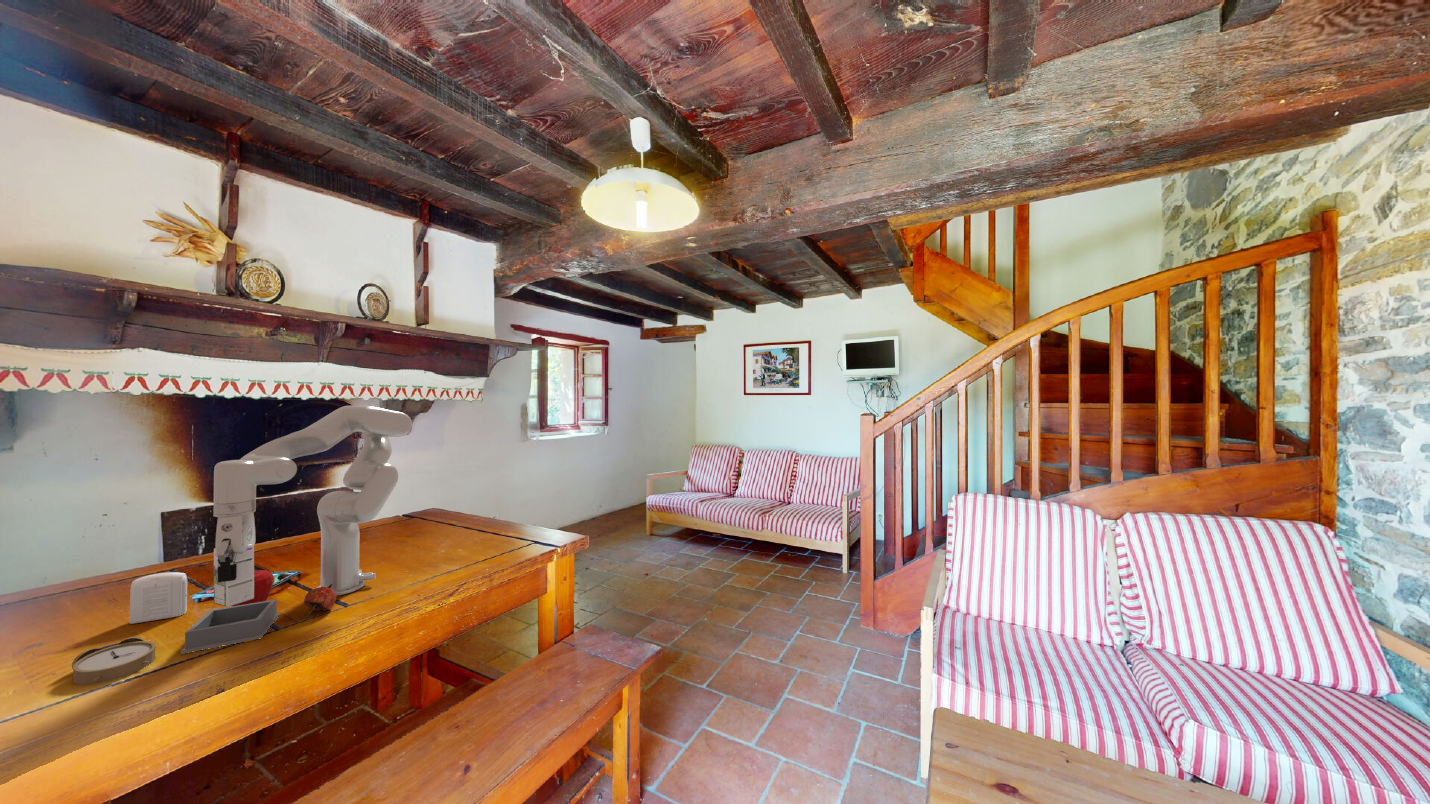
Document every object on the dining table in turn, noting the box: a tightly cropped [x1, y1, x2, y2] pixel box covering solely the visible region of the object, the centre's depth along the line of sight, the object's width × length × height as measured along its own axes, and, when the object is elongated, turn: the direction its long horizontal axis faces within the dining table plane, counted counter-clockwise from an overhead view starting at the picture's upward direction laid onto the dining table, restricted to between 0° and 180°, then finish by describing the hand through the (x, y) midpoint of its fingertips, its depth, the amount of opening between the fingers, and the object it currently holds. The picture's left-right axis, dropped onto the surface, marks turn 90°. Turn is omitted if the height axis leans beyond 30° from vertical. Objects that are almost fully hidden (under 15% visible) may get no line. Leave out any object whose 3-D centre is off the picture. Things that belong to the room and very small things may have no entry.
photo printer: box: [129, 571, 188, 625], centre depth 124 cm, size 10×4×12 cm, turn 123°
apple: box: [232, 569, 275, 606], centre depth 131 cm, size 10×10×11 cm
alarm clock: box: [71, 636, 157, 686], centre depth 102 cm, size 11×5×15 cm
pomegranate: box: [303, 584, 337, 616], centre depth 129 cm, size 7×7×10 cm
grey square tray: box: [180, 599, 281, 655], centre depth 116 cm, size 14×14×5 cm
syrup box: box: [213, 544, 255, 608], centre depth 116 cm, size 6×6×14 cm
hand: (234, 574), depth 116 cm, fingers closed on syrup box, 8 cm apart
